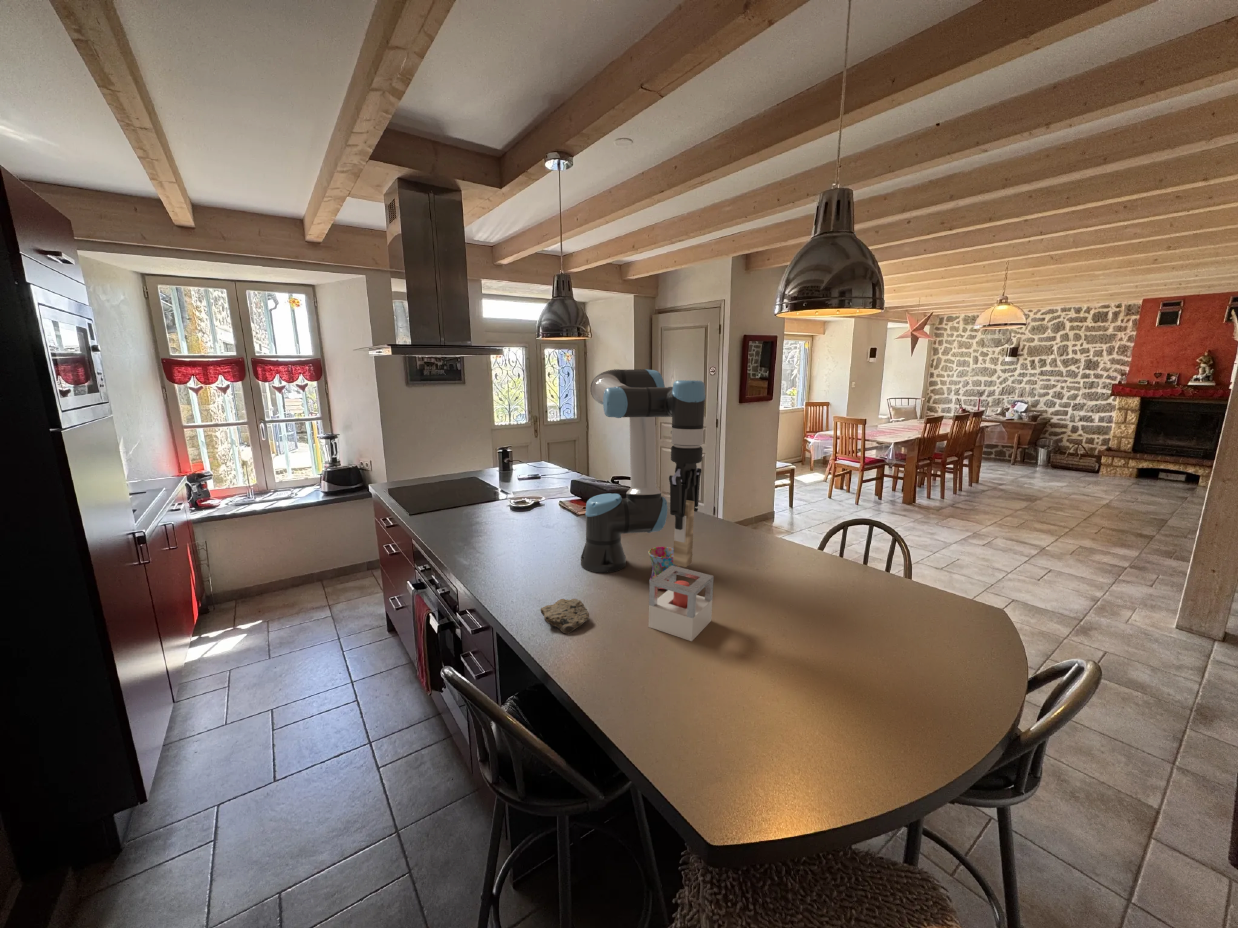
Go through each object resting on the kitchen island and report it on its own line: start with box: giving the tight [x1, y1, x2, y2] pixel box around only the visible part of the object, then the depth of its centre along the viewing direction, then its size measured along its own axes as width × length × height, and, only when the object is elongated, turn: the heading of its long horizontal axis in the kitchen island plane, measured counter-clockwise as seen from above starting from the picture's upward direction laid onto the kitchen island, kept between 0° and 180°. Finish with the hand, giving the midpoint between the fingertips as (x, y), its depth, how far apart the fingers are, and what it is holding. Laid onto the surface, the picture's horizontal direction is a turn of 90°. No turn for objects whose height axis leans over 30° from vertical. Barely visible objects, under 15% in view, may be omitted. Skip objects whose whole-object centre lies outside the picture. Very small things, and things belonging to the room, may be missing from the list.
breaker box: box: [648, 590, 713, 642], centre depth 126 cm, size 12×12×6 cm
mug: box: [647, 546, 681, 590], centre depth 149 cm, size 12×9×11 cm
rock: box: [540, 598, 590, 635], centre depth 127 cm, size 11×12×4 cm
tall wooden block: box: [673, 500, 695, 568], centre depth 122 cm, size 4×4×16 cm
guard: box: [648, 565, 714, 618], centre depth 125 cm, size 12×12×6 cm
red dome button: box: [673, 580, 691, 609], centre depth 125 cm, size 4×4×8 cm
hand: (683, 538), depth 122 cm, fingers closed on tall wooden block, 3 cm apart
